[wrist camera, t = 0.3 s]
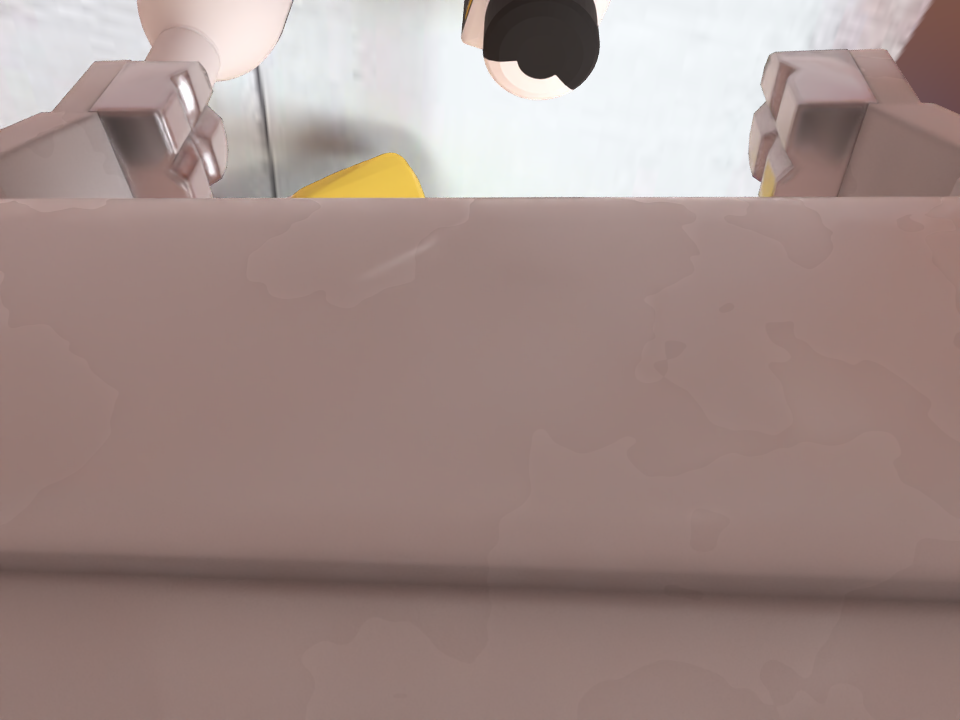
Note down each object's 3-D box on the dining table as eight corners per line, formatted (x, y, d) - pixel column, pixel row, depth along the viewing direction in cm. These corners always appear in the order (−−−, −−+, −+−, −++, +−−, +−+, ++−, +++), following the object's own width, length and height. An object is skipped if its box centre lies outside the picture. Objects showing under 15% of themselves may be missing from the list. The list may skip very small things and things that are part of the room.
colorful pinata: (107, 266, 46) (360, 719, 56) (495, 98, 58) (642, 494, 69) (64, 276, 73) (240, 581, 83) (336, 160, 86) (459, 437, 96)
